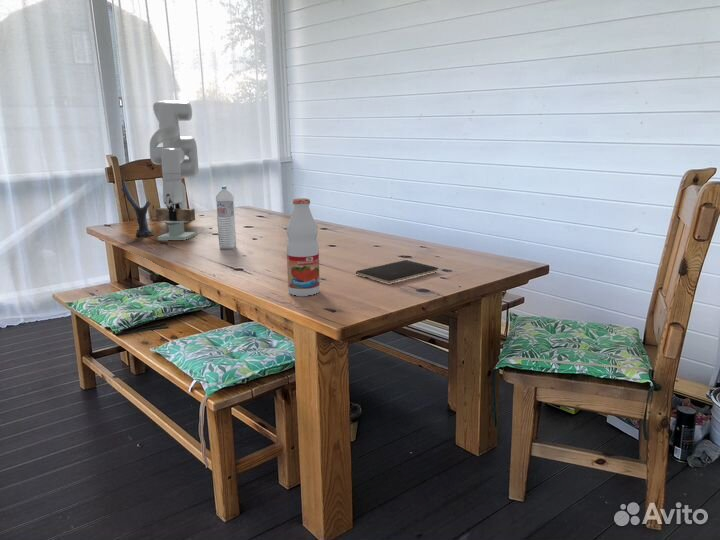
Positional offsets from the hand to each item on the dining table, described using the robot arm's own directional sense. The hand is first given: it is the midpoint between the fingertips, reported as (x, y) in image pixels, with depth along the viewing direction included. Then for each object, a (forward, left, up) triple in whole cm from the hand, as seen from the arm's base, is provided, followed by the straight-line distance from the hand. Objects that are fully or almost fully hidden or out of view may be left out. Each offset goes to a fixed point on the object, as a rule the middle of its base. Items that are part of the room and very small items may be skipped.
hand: (175, 219), depth 254 cm
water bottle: (+18, +30, -9) cm, 36 cm away
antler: (-2, -18, -9) cm, 20 cm away
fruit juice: (+75, +75, -9) cm, 106 cm away
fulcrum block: (0, 0, -8) cm, 8 cm away
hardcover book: (+50, +101, -9) cm, 113 cm away
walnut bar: (0, 0, -1) cm, 1 cm away
